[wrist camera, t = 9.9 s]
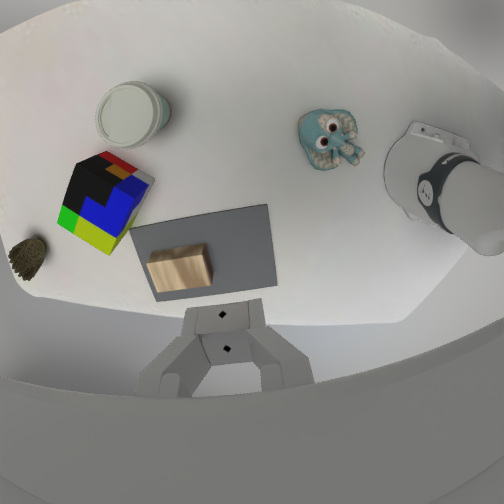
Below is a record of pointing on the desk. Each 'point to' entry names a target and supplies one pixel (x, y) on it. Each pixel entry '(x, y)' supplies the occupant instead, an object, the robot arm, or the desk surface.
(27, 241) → the olive cup-shaped piece
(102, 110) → the coffee cup
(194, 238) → the mat
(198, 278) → the oak block
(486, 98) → the desk surface
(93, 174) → the puzzle toy
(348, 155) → the stuffed animal
